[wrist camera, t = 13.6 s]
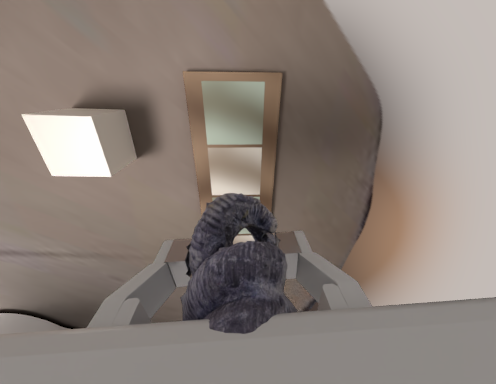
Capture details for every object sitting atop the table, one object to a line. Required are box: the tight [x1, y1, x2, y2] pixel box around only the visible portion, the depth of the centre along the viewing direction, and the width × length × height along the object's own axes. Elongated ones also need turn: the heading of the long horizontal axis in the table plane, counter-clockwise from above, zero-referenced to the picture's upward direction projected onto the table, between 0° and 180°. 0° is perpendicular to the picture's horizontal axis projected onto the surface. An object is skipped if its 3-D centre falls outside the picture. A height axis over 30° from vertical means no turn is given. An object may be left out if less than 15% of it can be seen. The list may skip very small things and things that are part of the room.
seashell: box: [181, 193, 297, 334], centre depth 9 cm, size 5×5×10 cm
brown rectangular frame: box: [183, 71, 282, 245], centre depth 21 cm, size 23×8×1 cm, turn 0°
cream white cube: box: [21, 108, 137, 177], centre depth 16 cm, size 4×4×4 cm
